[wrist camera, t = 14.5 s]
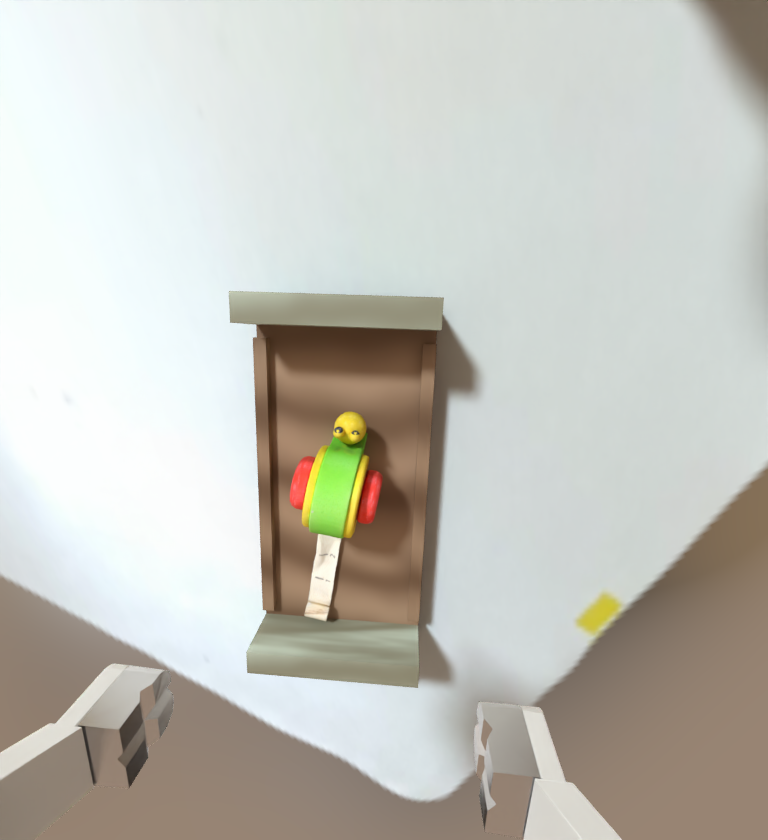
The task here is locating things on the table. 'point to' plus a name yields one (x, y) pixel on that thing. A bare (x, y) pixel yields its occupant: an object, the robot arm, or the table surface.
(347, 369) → the wooden tray
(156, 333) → the table surface
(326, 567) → the toy measuring tape
